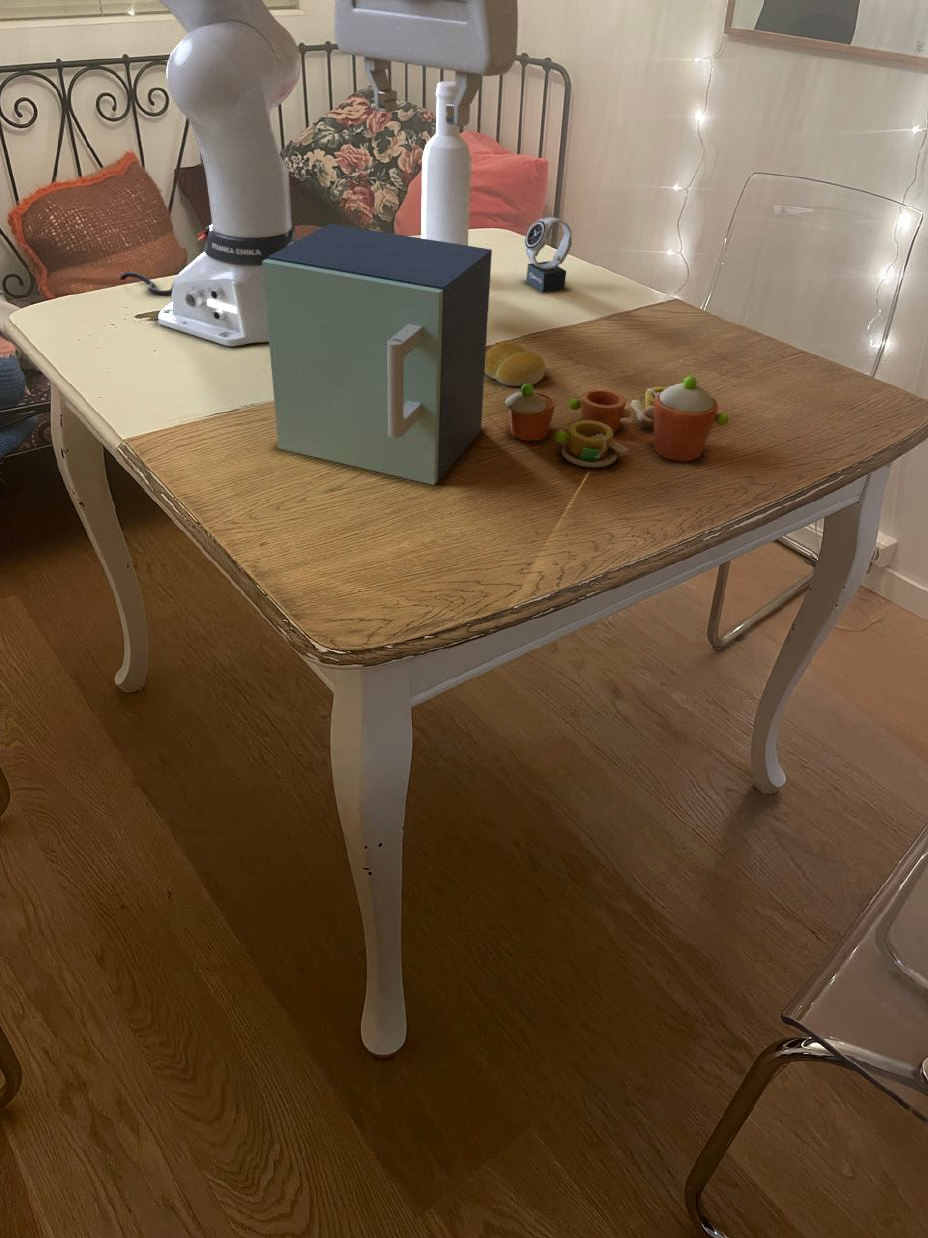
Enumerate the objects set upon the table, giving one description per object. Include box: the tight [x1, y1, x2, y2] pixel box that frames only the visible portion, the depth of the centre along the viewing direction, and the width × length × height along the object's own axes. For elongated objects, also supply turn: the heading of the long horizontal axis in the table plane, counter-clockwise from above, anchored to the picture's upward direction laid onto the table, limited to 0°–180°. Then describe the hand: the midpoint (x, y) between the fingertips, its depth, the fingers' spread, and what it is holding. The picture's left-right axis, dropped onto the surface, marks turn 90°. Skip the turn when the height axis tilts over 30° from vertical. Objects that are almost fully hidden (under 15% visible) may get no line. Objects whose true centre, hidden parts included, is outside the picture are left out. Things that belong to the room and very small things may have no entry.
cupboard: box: [268, 223, 493, 482], centre depth 108 cm, size 14×20×22 cm
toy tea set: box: [504, 376, 730, 468], centre depth 113 cm, size 26×16×10 cm, turn 104°
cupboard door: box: [262, 259, 443, 486], centre depth 100 cm, size 7×20×22 cm, turn 69°
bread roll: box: [484, 341, 546, 387], centre depth 130 cm, size 8×9×4 cm
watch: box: [524, 216, 573, 293], centre depth 158 cm, size 6×8×11 cm
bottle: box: [420, 80, 472, 246], centre depth 151 cm, size 8×8×30 cm
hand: (420, 117), depth 92 cm, fingers open, 8 cm apart
